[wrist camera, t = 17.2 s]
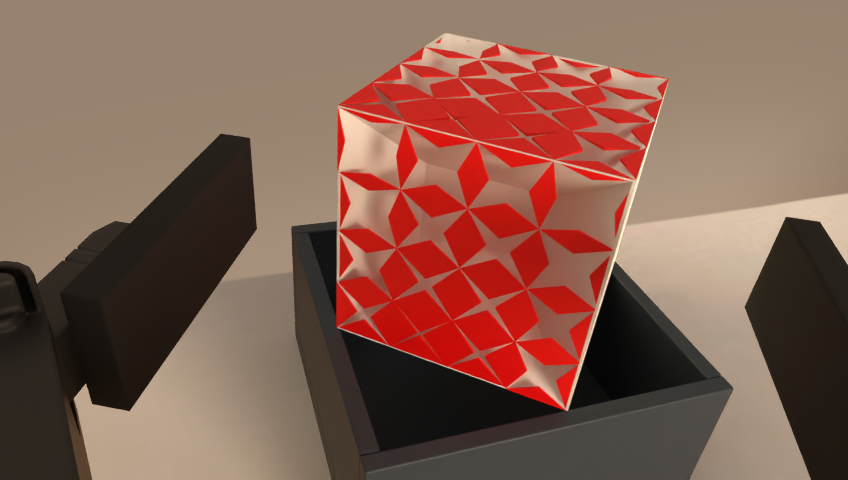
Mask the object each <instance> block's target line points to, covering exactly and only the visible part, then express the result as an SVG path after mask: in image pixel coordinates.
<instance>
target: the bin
mask: <svg viewBox="0 0 848 480" xmlns="http://www.w3.org/2000/svg"><path fill="white" fill-rule="evenodd" d="M291 230H292V256H293V281H294V306H295V331H296V338H297V342H298V346H299V350H300V354H301V358H302V362H303V366H304V370H305V374H306V378H307V383H308V387H309V391H310V395H311V399H312V403H313V407H314V411H315V415H316V419H317V423H318V427H319V431H320V435H321V439H322V443H323V447H324V451H325V455H326V459H327V463H328V467H329V471H330V475H331V479H332V480H689V478H690V476H691V474H692V472H693V470H694V468H695V466H696V464H697V462H698V460H699V458H700V456H701V454H702V452H703V450H704V448H705V446H706V444H707V442H708V440H709V438H710V436H711V434H712V432H713V430H714V428H715V426H716V424H717V422H718V419H719V417H720V415H721V413H722V411H723V409H724V407H725V405H726V403H727V401H728V399H729V397H730V395H731V393H732V391H733V387H732V386H731V385H730V384H729V383H728V382H727V381H726V380H725V379H724V378H723V377H721V375H720V373H719V372H718V371H717V370H716V369H715V368H714V367H713V366H712V365H711V364H710V363H709V361H708V360H707V359H706V358H705V357H704V356H703V355H702V354H701V353H700V352H699V351H698V350H697V349H696V348H695V346H694V345H693V344H692V343H691V342H690V341H689V340H688V339H687V338H686V337H685V336H684V335H683V334H682V333H681V331H680V330H679V329H678V328H677V327H676V326H675V325H674V324H673V323H672V322H671V321H670V320H669V319H668V318H667V316H666V315H665V314H664V313H663V312H662V311H661V310H660V309H659V308H658V307H657V306H656V305H655V304H654V303H653V301H652V300H651V299H650V298H649V297H648V296H647V295H646V294H645V293H644V292H643V291H642V290H641V289H640V288H639V286H638V285H637V284H636V283H635V282H634V281H633V280H632V279H631V278H630V277H629V276H628V275H627V274H626V273H625V271H624V270H623V269H622V268H621V267H620V266H619V265H618V264H617V263H616V262H614V265H613V269H612V272H611V275H610V278H609V282H608V285H607V288H606V291H605V294H604V297H603V301H602V304H601V307H600V310H599V313H598V317H597V320H596V323H595V326H594V329H593V333H592V336H591V339H590V342H589V345H588V348H587V352H586V355H585V358H584V361H583V364H582V368H581V371H580V374H579V377H578V380H577V384H576V387H575V390H574V393H573V396H572V399H571V403H570V406H569V409H568V411H565V410H562V409H560V408H557V407H554V406H551V405H549V404H546V403H543V402H540V401H537V400H535V399H532V398H529V397H526V396H524V395H521V394H518V393H515V392H512V391H510V390H507V389H505V388H502V387H500V386H497V385H494V384H491V383H489V382H486V381H483V380H480V379H477V378H475V377H472V376H469V375H466V374H464V373H461V372H458V371H455V370H452V369H450V368H447V367H444V366H441V365H439V364H436V363H433V362H430V361H427V360H425V359H422V358H419V357H416V356H414V355H411V354H408V353H405V352H402V351H400V350H397V349H394V348H391V347H389V346H386V345H383V344H380V343H377V342H375V341H372V340H369V339H366V338H364V337H361V336H358V335H355V334H352V333H350V332H347V331H344V330H341V329H339V328H336V295H337V221H336V222H327V223H318V224H309V225H299V226H292V229H291Z"/></svg>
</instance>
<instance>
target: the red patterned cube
mask: <svg viewBox="0 0 848 480" xmlns="http://www.w3.org/2000/svg"><path fill="white" fill-rule="evenodd" d="M668 82H669V79H667V78H663V77H657V76H653V75H648V74H643V73H638V72H633V71H628V70H624V69H619V68H614V67H609V66H604V65H599V64H594V63H589V62H584V61H579V60H575V59H570V58H565V57H559V56H555V55H551V54H546V53H541V52H536V51H532V50H527V49H521V48H517V47H512V46H507V45H502V44H497V43H492V42H487V41H482V40H478V39H473V38H468V37H463V36H458V35H453V34H449V33H444V34H443V35H441V36H440V37H438V38H437V39H436V40H434V41H433V42H431V43H430V44H428V45H427V46H425V47H424V48H422V49H421V50H419V51H418V52H416V53H415V54H413V55H412V56H410V57H409V58H407V59H406V60H404V61H403V62H401V63H400V64H398V65H397V66H395V67H394V68H392V69H391V70H390V71H388V72H386V73H385V74H384V75H382V76H381V77H379V78H378V79H376V80H375V81H373V82H372V83H370V84H369V85H367V86H366V87H364V88H363V89H361V90H360V91H359V92H357V93H356V94H354V95H353V96H351V97H350V98H348V99H347V100H345V101H344V102H342V103H341V104H339V105H338V149H337V152H338V155H337V295H336V328H339V329H341V330H344V331H347V332H350V333H352V334H355V335H358V336H361V337H364V338H366V339H369V340H372V341H375V342H377V343H380V344H383V345H386V346H389V347H391V348H394V349H397V350H400V351H402V352H405V353H408V354H411V355H414V356H416V357H419V358H422V359H425V360H427V361H430V362H433V363H436V364H439V365H441V366H444V367H447V368H450V369H452V370H455V371H458V372H461V373H464V374H466V375H469V376H472V377H475V378H477V379H480V380H483V381H486V382H489V383H491V384H494V385H497V386H500V387H502V388H505V389H507V390H510V391H512V392H515V393H518V394H521V395H524V396H526V397H529V398H532V399H535V400H537V401H540V402H543V403H546V404H549V405H551V406H554V407H557V408H560V409H562V410H565V411H568V409H569V406H570V403H571V399H572V396H573V393H574V390H575V387H576V384H577V380H578V377H579V374H580V371H581V368H582V364H583V361H584V358H585V355H586V352H587V348H588V345H589V342H590V339H591V336H592V333H593V329H594V326H595V323H596V320H597V317H598V313H599V310H600V307H601V304H602V301H603V297H604V294H605V291H606V288H607V285H608V282H609V278H610V275H611V272H612V269H613V265H614V262H615V259H616V255H617V252H618V249H619V245H620V242H621V239H622V235H623V232H624V229H625V225H626V222H627V219H628V215H629V212H630V209H631V205H632V202H633V199H634V195H635V192H636V189H637V185H638V182H639V179H640V175H641V172H642V169H643V165H644V162H645V159H646V155H647V152H648V148H649V145H650V142H651V139H652V135H653V132H654V128H655V125H656V122H657V119H658V115H659V111H660V109H661V105H662V102H663V99H664V95H665V92H666V89H667V85H668Z"/></svg>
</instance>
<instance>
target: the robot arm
mask: <svg viewBox="0 0 848 480" xmlns="http://www.w3.org/2000/svg"><path fill="white" fill-rule="evenodd" d="M256 229H257V226H256V213H255V200H254V186H253V174H252V161H251V147H250V138H245V137H239V136H233V135H225V134H220V135H219V136H218V137H217V138H216V139H215V140H214V141H213V142H212V143H211V144H210V145H209V146H208V147H207V148H206V149H205V150H204V151H203V152H202V153H201V154H200V155H199V156H198V157H197V158H196V159H195V160H194V161H193V162H192V163H191V164H190V165H189V166H188V167H187V168H186V169H185V170H184V171H183V172H182V173H181V174H180V175H179V176H178V177H177V178H176V179H175V180H174V181H173V182H172V183H171V184H170V185H169V186H168V187H167V188H166V189H165V190H164V191H163V192H162V193H160V194H159V195H158V197H156V198H155V199H154V200H153V201H152V202H151V203H150V204H149V205H148V206H147V207H146V208H145V209H144V211H142V212H141V213H140V214H139V215H138V216H137V217H136V218H135V219H134V220H133V221H132V222H131V223H124V222H118V221H115V222H113V223H110V224H108V225H106V226H104V227H102V228H100V229H98V230H97V231H95V232H93V233H92V234H91V235H90V236H88V237H87V238H86V239H85V240H84V241H83V242H82V243H81V244H80V245H79V246H78V249H74V250H73V251H72V252H71V253H70V254H69V255H68V256H67V257H66V258H65V261H62V262H60V263H59V264H58V265H57V266H56V267H55V268H54V269H53V270H52V271H51V272H50V273H48V274H47V275H46V276H45V277H44V278H43V279H42V280H41V281H40V282H39V283H38V284H37V282H36V279H35V276H34V274H33V272H32V270H31V269H30V267H28V266H26V265H23V264H21V263H19V262H9V261H2V262H0V480H92V476H91V472H90V467H89V463H88V458H87V453H86V449H85V444H84V440H83V435H82V431H81V426H80V421H79V417H78V412H77V408H76V405H75V402H74V397H75V396H76V395H77V394H78V392H79V391H80V390H81V389H82V387H83V386H84V385H85V384H87V388H88V391H89V394H90V398H91V401H92V404H95V405H100V406H105V407H111V408H116V409H121V410H127V411H130V410H131V408H132V407H133V405H134V404H135V403H136V401H137V400H138V398H139V397H140V395H141V394H142V393H143V391H144V390H145V388H146V387H147V385H148V384H149V383H150V381H151V380H152V378H153V377H154V375H155V374H156V372H157V371H158V370H159V368H160V367H161V365H162V364H163V362H164V361H165V360H166V358H167V357H168V355H169V354H170V352H171V351H172V350H173V348H174V347H175V345H176V344H177V342H178V341H179V340H180V338H181V337H182V335H183V334H184V332H185V331H186V330H187V328H188V327H189V325H190V324H191V322H192V321H193V320H194V318H195V317H196V315H197V314H198V312H199V311H200V310H201V308H202V307H203V305H204V304H205V302H206V301H207V299H208V298H209V297H210V295H211V294H212V292H213V291H214V289H215V288H216V287H217V285H218V284H219V282H220V281H221V279H222V278H223V277H224V275H225V274H226V272H227V271H228V269H229V268H230V267H231V265H232V264H233V262H234V261H235V259H236V258H237V256H238V255H239V254H240V252H241V251H242V249H243V248H244V247H245V245H246V244H247V242H248V241H249V239H250V238H251V236H252V235H253V233H254V232H255V231H256ZM745 309H746V312H747V314H748V317H749V319H750V322H751V325H752V327H753V330H754V332H755V335H756V338H757V340H758V343H759V345H760V348H761V351H762V353H763V356H764V358H765V361H766V364H767V366H768V369H769V371H770V374H771V377H772V379H773V382H774V384H775V387H776V390H777V392H778V395H779V397H780V400H781V402H782V405H783V408H784V410H785V413H786V415H787V418H788V421H789V423H790V426H791V428H792V431H793V434H794V436H795V439H796V441H797V444H798V447H799V449H800V452H801V454H802V457H803V460H804V462H805V465H806V467H807V470H808V473H809V475H810V478H811V480H848V265H847V263H846V262H845V260H844V259H843V257H842V255H841V254H840V252H839V251H838V249H837V248H836V246H835V245H834V243H833V241H832V240H831V238H830V237H829V235H828V234H827V232H826V231H825V229H824V228H823V226H822V224H821V223H820V222H817V221H811V220H804V219H797V218H790V217H786V218H785V220H784V222H783V225H782V227H781V229H780V231H779V233H778V236H777V238H776V240H775V242H774V244H773V246H772V249H771V251H770V253H769V255H768V257H767V260H766V262H765V264H764V266H763V268H762V270H761V273H760V275H759V277H758V279H757V281H756V284H755V286H754V288H753V290H752V292H751V294H750V297H749V299H748V301H747V303H746V305H745Z"/></svg>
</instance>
